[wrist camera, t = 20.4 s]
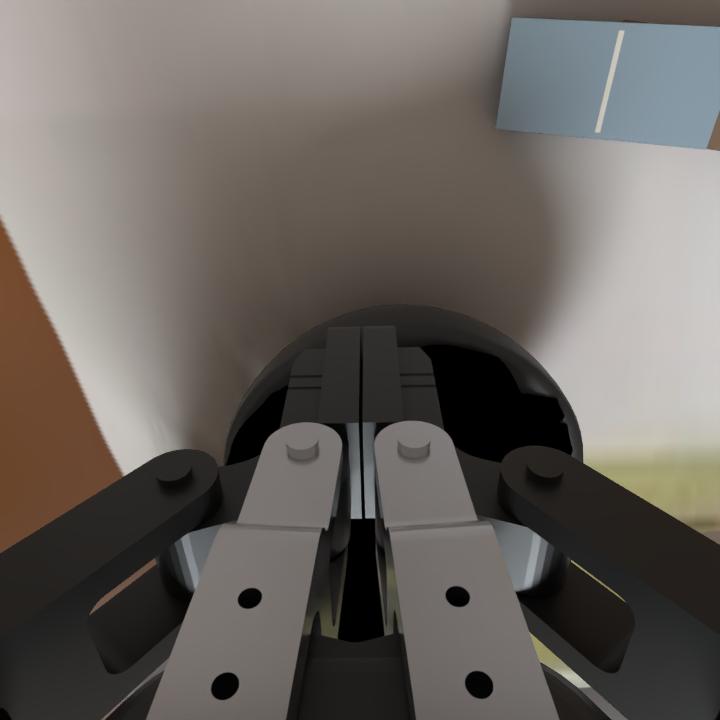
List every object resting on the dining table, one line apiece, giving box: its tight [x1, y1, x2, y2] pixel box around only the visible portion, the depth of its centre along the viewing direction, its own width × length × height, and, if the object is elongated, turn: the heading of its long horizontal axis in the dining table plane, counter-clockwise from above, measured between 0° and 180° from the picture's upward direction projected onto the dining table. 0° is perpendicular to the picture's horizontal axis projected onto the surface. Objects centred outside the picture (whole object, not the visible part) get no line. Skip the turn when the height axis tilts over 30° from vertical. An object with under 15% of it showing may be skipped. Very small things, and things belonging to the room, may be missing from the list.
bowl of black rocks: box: [224, 305, 583, 642], centre depth 33 cm, size 20×20×19 cm
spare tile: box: [495, 17, 720, 149], centre depth 28 cm, size 2×5×10 cm
